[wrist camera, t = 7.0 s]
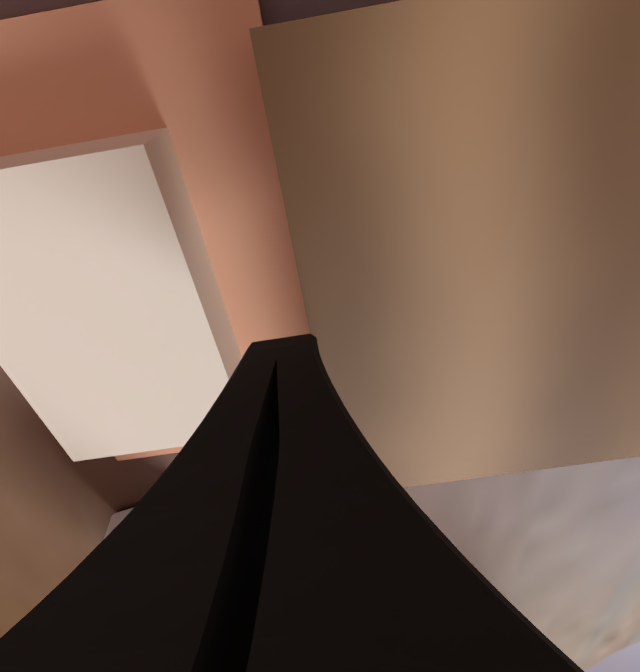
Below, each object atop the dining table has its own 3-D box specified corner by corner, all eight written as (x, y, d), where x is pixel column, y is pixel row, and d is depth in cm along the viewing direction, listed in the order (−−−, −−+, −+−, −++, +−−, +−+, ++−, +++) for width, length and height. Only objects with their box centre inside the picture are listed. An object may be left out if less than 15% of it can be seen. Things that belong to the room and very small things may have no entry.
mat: (254, -26, 9) (252, -29, 9) (336, 423, 17) (336, 430, 17) (-141, 49, 10) (-156, 50, 9) (120, 453, 18) (117, 461, 17)
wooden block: (912, -90, 9) (1258, -159, 6) (702, 352, 16) (807, 434, 13) (264, 30, 10) (249, 28, 6) (333, 405, 17) (342, 495, 13)
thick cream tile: (-131, 192, 9) (-66, 168, 11) (73, 461, 14) (96, 417, 16) (143, 144, 9) (166, 126, 10) (249, 436, 14) (254, 394, 16)
